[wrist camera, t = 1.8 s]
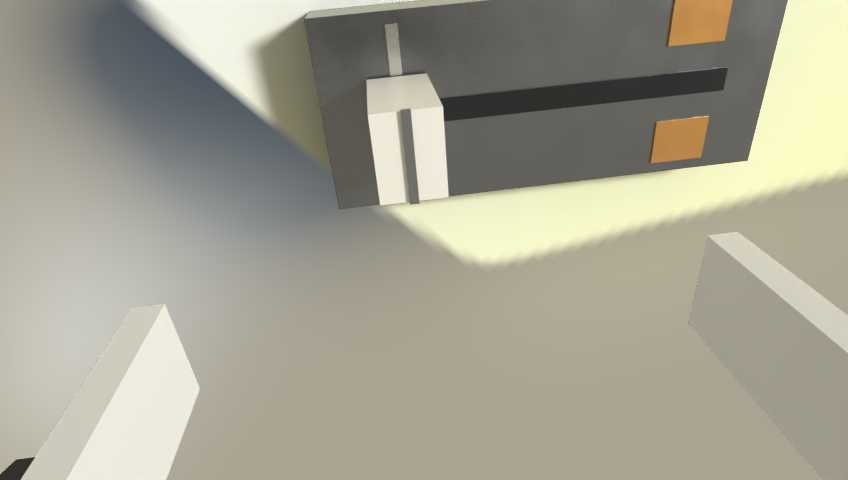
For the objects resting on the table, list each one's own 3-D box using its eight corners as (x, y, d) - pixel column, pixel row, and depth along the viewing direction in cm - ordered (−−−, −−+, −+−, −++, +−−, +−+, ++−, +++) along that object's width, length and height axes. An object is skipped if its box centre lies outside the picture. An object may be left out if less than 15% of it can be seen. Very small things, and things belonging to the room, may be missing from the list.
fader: (366, 78, 26) (367, 114, 20) (426, 72, 26) (443, 106, 20) (376, 156, 28) (380, 207, 22) (432, 150, 28) (449, 199, 22)
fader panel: (309, 11, 27) (303, 18, 24) (755, -34, 28) (796, -31, 25) (341, 187, 32) (339, 209, 29) (717, 143, 33) (748, 161, 30)
